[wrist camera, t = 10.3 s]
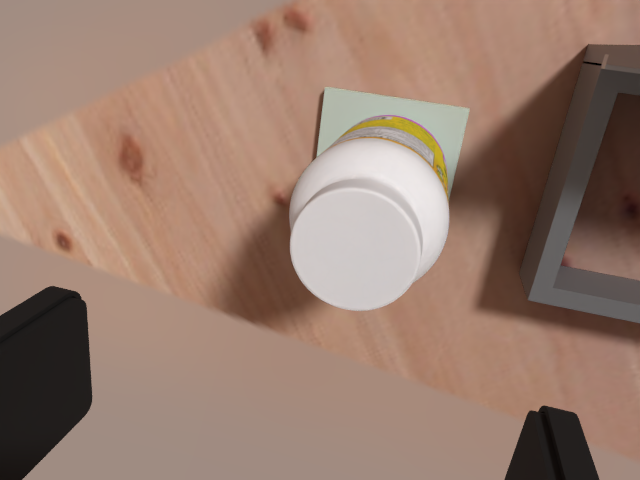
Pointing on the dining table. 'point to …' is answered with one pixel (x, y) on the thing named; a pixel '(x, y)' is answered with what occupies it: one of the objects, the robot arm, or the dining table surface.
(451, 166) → the rest pad
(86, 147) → the dining table surface
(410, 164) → the supplement bottle
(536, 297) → the case
